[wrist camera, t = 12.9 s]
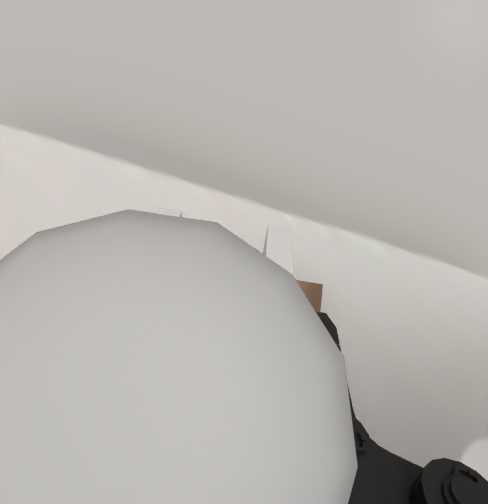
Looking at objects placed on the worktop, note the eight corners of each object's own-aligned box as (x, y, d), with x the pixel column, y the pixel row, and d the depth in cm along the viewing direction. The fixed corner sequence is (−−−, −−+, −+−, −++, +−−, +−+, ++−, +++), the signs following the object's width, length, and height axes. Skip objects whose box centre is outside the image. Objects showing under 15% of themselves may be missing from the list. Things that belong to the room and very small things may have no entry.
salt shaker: (246, 466, 14) (362, 1351, 2) (115, 409, 15) (-597, 781, 2) (296, 326, 16) (553, 237, 3) (175, 277, 16) (-22, 25, 4)
